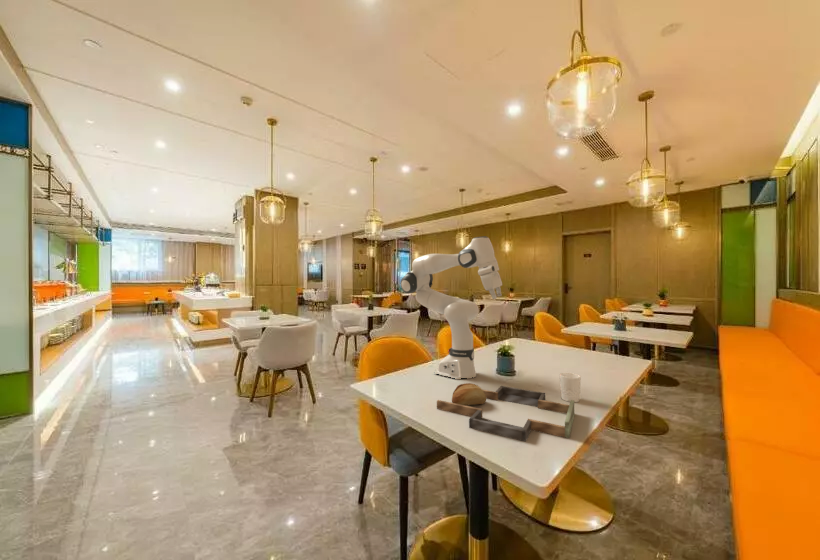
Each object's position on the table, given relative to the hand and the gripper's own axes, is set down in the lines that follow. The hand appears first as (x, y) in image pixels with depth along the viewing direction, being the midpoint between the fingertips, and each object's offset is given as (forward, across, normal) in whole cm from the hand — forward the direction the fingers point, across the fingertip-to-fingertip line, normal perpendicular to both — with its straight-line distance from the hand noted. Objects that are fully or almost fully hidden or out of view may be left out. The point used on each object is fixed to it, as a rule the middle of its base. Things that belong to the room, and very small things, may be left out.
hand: (497, 297), depth 148 cm
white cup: (+48, +4, +18) cm, 52 cm away
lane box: (+41, +28, -3) cm, 50 cm away
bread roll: (+38, +28, -16) cm, 50 cm away
